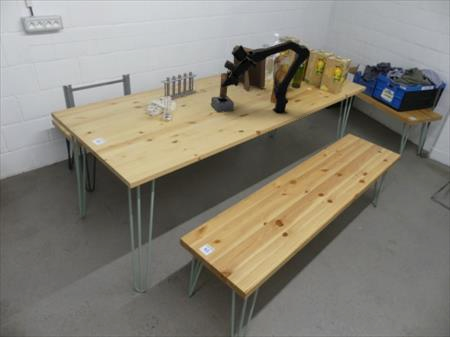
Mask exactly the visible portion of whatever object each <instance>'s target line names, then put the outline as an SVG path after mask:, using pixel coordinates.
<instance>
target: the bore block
mask: <svg viewBox="0 0 450 337" xmlns="http://www.w3.org/2000/svg"><path fill="white" fill-rule="evenodd" d="M210 102H211V103H210V105H211V107H212V108H213V109H214V110H215V111H216V112H217V113H223V112H222V111H224V112H233V111H234V107H235V106H234V105H235V102H234V101H233V100H232V99H231V98H230V97H229V96H228V95H227V97H226V98H222V97H220V96H212V97H211V101H210Z"/></svg>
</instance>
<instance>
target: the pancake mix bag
mask: <svg viewBox="0 0 450 337" xmlns="http://www.w3.org/2000/svg"><path fill="white" fill-rule="evenodd" d="M290 60H291V54H290V53H289V52H287V53H284V54H281V55H278V56H276V57H275V58H274V60H273V74H272V78H273V86H272V91H271V97H270V103H274V104H276V98H275V96H274V93H273V92H274V90H273V89H274V88H275V86H276V84H278V85H279V84H280V83H281V82H282V80H283V79H284V77H285V75H286V73H287V72H288V70H289V68H290V66H291V61H290ZM287 89H288V88H287ZM287 94H288V92H287V93H286V98H287Z"/></svg>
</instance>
